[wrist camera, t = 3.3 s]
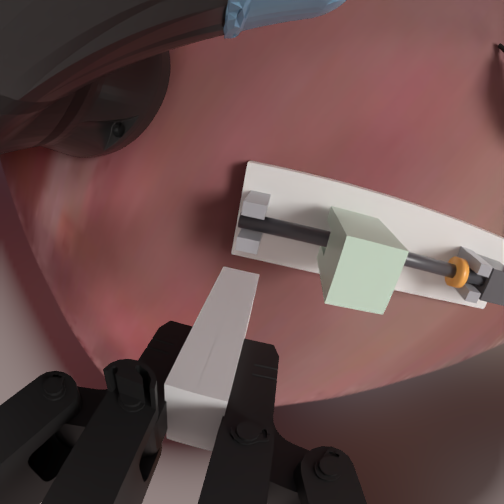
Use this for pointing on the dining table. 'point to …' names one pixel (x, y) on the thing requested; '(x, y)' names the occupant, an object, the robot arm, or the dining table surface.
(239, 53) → the dining table surface
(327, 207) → the linear slide rail
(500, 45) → the power plug
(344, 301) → the pale green block
